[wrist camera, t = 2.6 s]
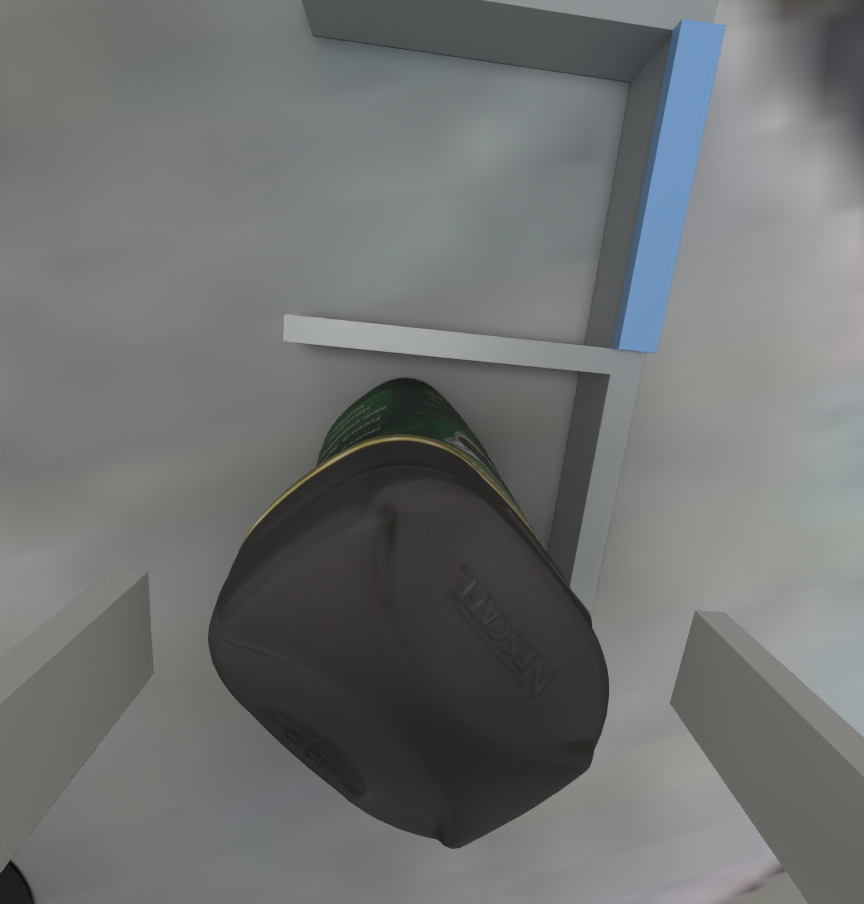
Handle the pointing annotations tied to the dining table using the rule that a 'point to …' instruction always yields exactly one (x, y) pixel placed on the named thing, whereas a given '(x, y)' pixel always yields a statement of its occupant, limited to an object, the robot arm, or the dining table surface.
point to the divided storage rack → (628, 221)
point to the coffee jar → (412, 628)
